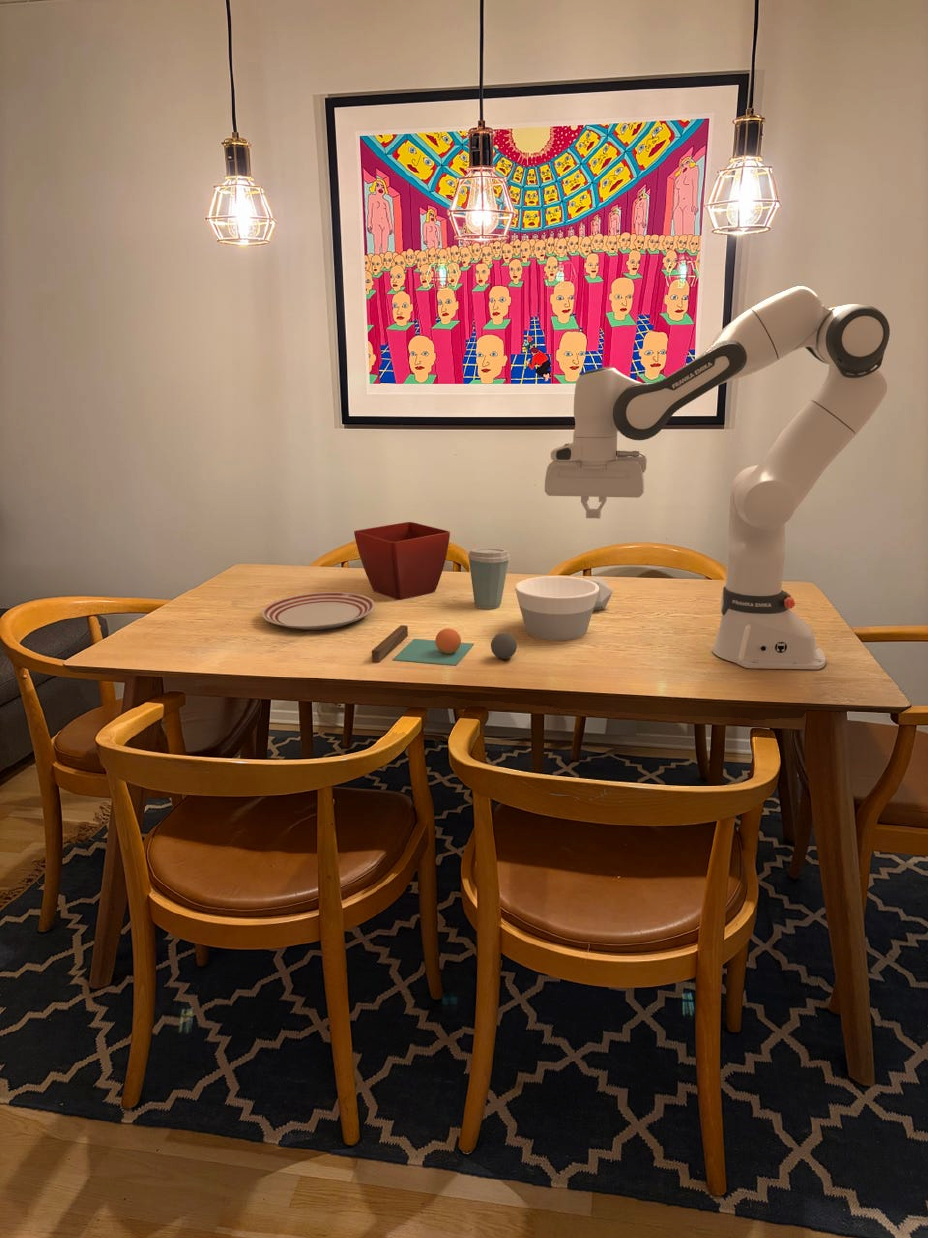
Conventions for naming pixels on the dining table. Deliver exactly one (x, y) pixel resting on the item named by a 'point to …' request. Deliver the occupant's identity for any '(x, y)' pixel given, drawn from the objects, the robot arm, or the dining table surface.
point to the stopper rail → (389, 643)
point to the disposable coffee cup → (488, 575)
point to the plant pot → (403, 558)
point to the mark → (431, 653)
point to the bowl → (556, 606)
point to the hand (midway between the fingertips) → (593, 517)
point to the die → (601, 593)
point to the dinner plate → (318, 610)
